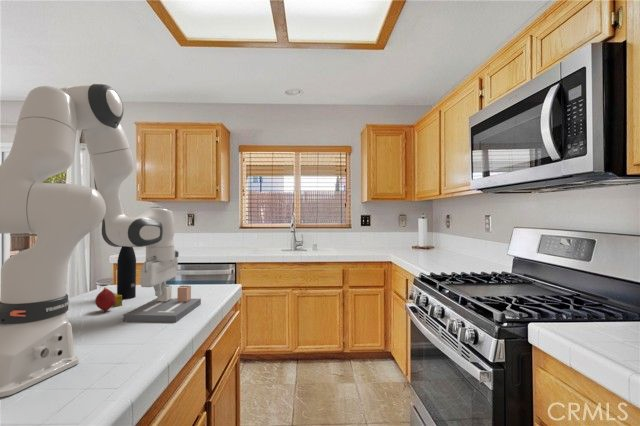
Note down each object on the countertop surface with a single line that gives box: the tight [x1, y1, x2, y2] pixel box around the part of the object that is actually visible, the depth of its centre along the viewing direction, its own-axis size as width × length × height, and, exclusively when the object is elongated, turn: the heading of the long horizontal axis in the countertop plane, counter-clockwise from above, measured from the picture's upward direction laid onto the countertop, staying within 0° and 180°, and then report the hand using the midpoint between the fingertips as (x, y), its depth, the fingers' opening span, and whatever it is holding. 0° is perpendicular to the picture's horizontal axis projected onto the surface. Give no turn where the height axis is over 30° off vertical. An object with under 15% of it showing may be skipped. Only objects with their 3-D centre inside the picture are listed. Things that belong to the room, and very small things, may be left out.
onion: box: [94, 286, 116, 312], centre depth 119 cm, size 6×6×8 cm
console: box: [122, 297, 202, 323], centre depth 119 cm, size 22×16×2 cm
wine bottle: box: [116, 246, 137, 300], centre depth 139 cm, size 6×6×30 cm
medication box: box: [112, 292, 123, 308], centre depth 129 cm, size 12×3×4 cm, turn 52°
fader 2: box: [176, 284, 192, 302], centre depth 126 cm, size 4×3×5 cm
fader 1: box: [156, 284, 173, 301], centre depth 126 cm, size 4×3×5 cm
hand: (159, 295), depth 122 cm, fingers closed
